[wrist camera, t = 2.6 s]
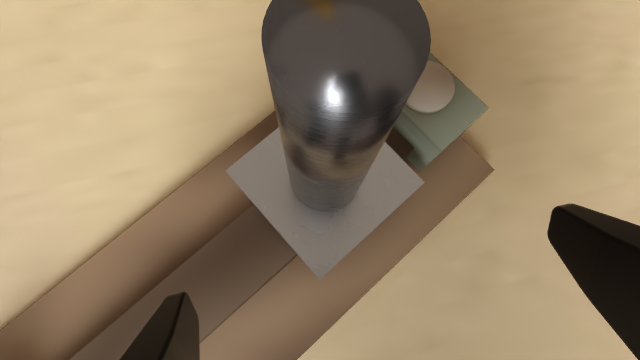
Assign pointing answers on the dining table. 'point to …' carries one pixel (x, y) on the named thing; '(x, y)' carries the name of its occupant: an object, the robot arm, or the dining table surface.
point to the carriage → (334, 121)
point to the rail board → (201, 224)
